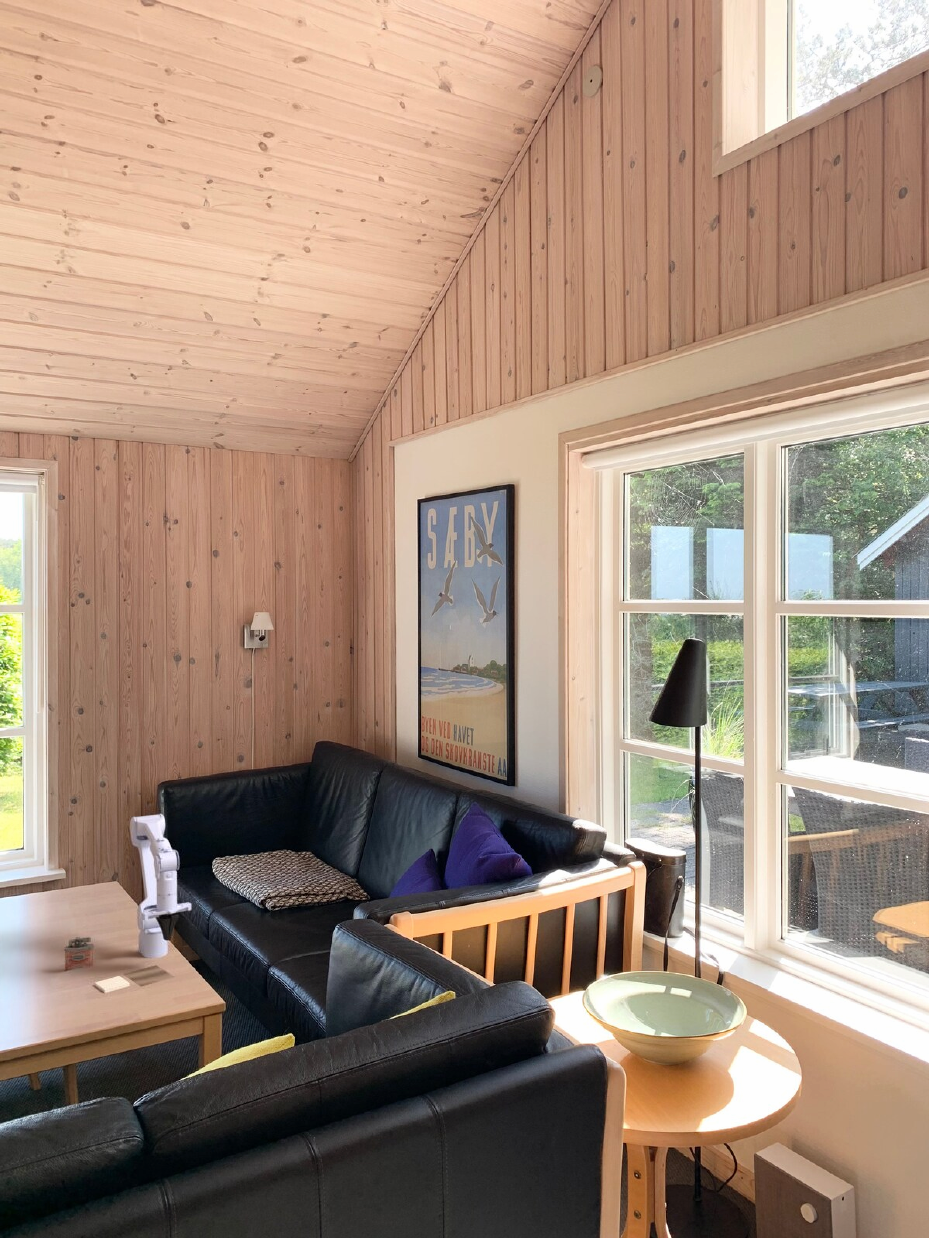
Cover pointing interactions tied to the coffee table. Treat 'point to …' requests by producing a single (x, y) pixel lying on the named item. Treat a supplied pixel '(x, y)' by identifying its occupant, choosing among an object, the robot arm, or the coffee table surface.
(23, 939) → the coffee table surface
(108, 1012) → the coffee table surface
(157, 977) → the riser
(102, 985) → the cream flat block
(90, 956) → the lighter
